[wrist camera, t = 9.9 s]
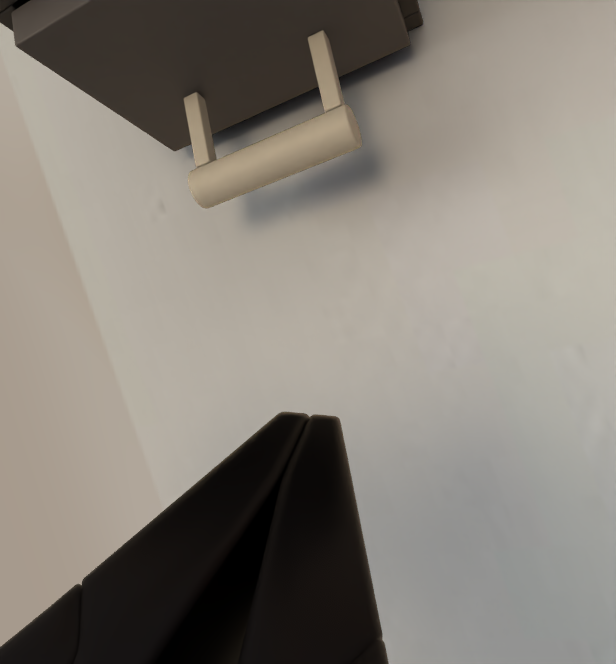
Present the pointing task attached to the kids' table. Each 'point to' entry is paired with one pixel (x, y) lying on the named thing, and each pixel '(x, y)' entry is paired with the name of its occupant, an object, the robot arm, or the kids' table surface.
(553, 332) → the kids' table surface
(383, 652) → the robot arm
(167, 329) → the kids' table surface
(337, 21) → the drawer
